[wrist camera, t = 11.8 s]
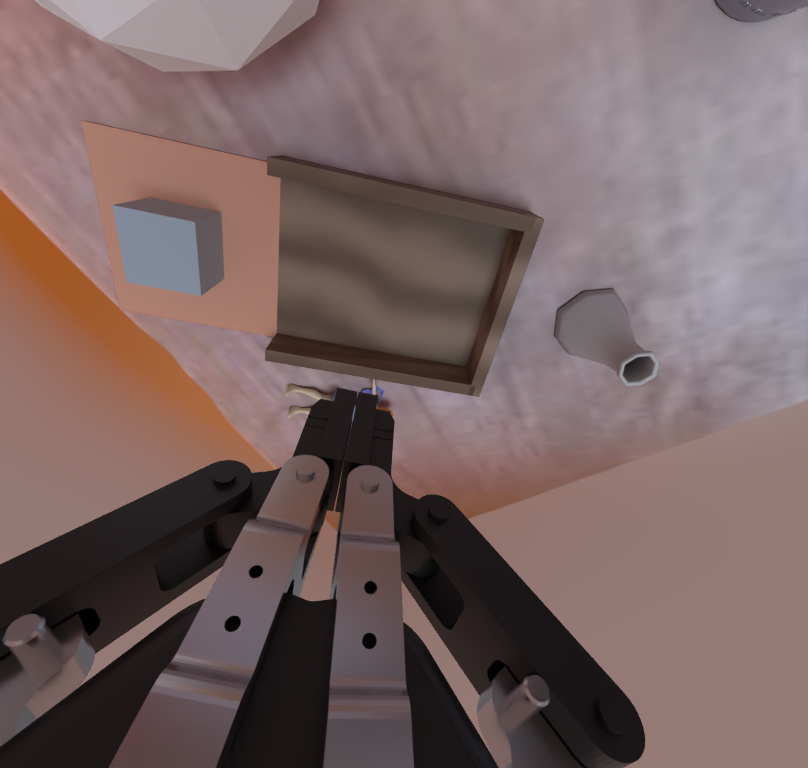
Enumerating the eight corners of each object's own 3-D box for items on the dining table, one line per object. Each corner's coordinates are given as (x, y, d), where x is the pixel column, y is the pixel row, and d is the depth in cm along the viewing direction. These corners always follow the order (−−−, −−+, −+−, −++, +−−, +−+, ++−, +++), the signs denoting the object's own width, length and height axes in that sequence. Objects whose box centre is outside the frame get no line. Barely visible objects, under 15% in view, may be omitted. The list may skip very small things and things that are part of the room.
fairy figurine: (275, 369, 39) (393, 384, 38) (292, 348, 43) (398, 361, 42) (285, 453, 45) (386, 468, 44) (299, 428, 49) (392, 441, 48)
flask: (560, 362, 42) (600, 417, 33) (545, 304, 38) (586, 350, 30) (629, 337, 40) (689, 389, 32) (620, 275, 37) (685, 314, 28)
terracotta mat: (83, 120, 30) (81, 120, 30) (281, 165, 32) (280, 165, 32) (121, 309, 39) (120, 309, 38) (277, 336, 40) (276, 337, 40)
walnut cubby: (281, 155, 31) (267, 156, 28) (530, 211, 34) (544, 219, 30) (276, 342, 41) (265, 360, 37) (473, 376, 43) (478, 396, 39)
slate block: (149, 197, 33) (112, 205, 29) (221, 212, 34) (194, 222, 29) (159, 266, 36) (126, 282, 32) (224, 278, 37) (201, 296, 32)
